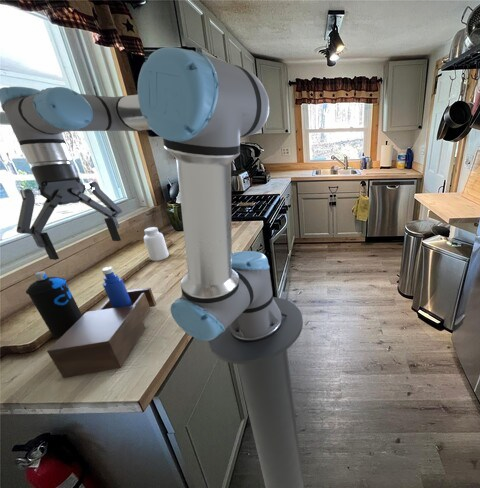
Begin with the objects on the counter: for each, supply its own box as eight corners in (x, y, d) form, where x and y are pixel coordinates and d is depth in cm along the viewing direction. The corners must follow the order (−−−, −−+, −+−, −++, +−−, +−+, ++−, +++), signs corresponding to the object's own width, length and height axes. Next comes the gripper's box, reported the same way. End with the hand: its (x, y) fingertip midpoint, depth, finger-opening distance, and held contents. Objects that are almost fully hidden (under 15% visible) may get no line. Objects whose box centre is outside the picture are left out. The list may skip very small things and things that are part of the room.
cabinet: (98, 335, 77) (86, 311, 73) (145, 328, 79) (136, 304, 75) (63, 378, 63) (46, 351, 60) (121, 367, 66) (108, 341, 62)
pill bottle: (156, 262, 121) (146, 232, 115) (147, 259, 124) (136, 230, 118) (172, 256, 127) (164, 227, 121) (163, 252, 131) (154, 224, 125)
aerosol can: (45, 342, 75) (9, 283, 67) (60, 324, 82) (29, 269, 74) (80, 333, 78) (50, 276, 70) (91, 317, 85) (65, 263, 77)
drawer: (124, 302, 90) (117, 285, 88) (160, 297, 92) (155, 280, 90) (94, 338, 74) (84, 319, 72) (139, 331, 76) (131, 312, 74)
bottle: (138, 311, 84) (120, 264, 77) (132, 320, 79) (111, 271, 73) (122, 313, 83) (102, 266, 76) (115, 322, 79) (93, 273, 72)
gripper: (104, 162, 73) (130, 234, 79) (-38, 170, 51) (14, 267, 58) (119, 159, 70) (145, 234, 76) (-26, 167, 48) (28, 270, 55)
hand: (88, 249), depth 67 cm, fingers open, 13 cm apart
